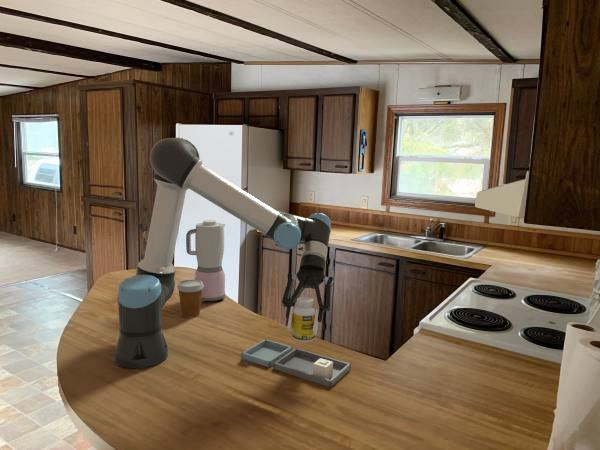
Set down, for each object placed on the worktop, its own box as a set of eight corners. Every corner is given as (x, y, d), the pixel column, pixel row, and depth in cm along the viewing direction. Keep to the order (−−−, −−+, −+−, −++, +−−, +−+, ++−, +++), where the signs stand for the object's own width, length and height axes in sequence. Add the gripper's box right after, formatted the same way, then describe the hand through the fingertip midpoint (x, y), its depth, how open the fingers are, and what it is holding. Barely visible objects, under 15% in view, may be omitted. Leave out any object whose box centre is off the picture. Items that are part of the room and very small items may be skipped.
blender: (220, 292, 202) (220, 218, 196) (229, 301, 191) (230, 222, 186) (182, 296, 195) (182, 219, 189) (190, 306, 184) (189, 224, 178)
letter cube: (325, 381, 128) (326, 367, 127) (312, 377, 130) (313, 363, 130) (332, 375, 132) (333, 361, 131) (319, 371, 134) (320, 357, 133)
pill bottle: (295, 343, 131) (296, 303, 129) (290, 334, 137) (290, 296, 135) (318, 341, 133) (319, 302, 131) (311, 332, 139) (312, 294, 137)
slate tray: (269, 370, 135) (269, 361, 135) (241, 360, 140) (241, 352, 140) (292, 354, 145) (292, 346, 145) (265, 346, 151) (265, 338, 150)
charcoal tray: (330, 390, 125) (331, 381, 125) (273, 371, 134) (273, 363, 134) (350, 371, 136) (350, 363, 135) (296, 355, 145) (296, 347, 144)
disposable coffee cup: (200, 319, 171) (200, 287, 169) (174, 318, 171) (173, 286, 169) (206, 310, 180) (206, 279, 178) (181, 309, 181) (181, 278, 178)
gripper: (346, 268, 145) (337, 340, 132) (284, 263, 149) (270, 332, 136) (345, 255, 139) (336, 329, 126) (280, 250, 143) (265, 322, 130)
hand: (301, 330), depth 131 cm, fingers closed on pill bottle, 6 cm apart
